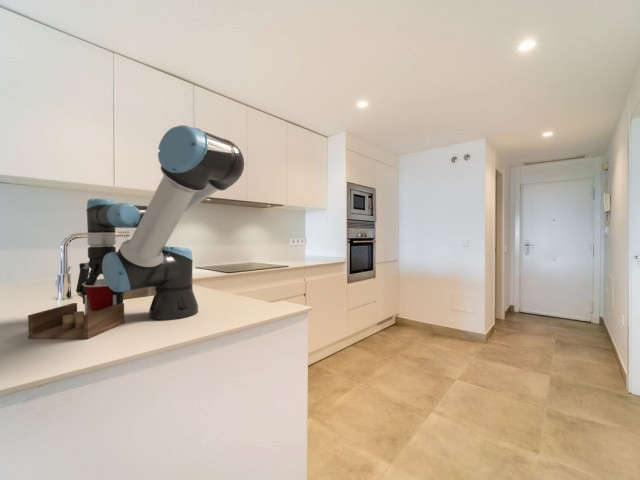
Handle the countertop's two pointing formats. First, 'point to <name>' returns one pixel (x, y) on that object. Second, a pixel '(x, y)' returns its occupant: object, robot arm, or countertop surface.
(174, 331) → the countertop surface
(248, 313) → the countertop surface
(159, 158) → the robot arm
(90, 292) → the plastic cup
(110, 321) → the peg board
